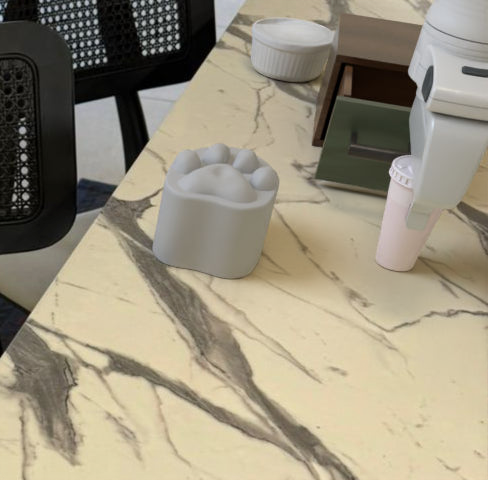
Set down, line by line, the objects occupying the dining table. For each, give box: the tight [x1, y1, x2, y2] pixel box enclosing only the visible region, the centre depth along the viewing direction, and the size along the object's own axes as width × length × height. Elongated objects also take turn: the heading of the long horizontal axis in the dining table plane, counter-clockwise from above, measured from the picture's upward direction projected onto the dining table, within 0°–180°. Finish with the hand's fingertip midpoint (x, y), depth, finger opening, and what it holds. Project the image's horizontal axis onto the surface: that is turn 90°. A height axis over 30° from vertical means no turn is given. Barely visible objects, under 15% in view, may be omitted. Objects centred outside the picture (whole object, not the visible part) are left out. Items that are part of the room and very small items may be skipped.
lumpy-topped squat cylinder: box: [152, 142, 280, 280], centre depth 99 cm, size 10×13×9 cm
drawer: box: [314, 63, 418, 193], centre depth 112 cm, size 19×11×9 cm, turn 165°
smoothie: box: [374, 155, 444, 272], centre depth 96 cm, size 6×6×14 cm
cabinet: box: [311, 12, 423, 148], centre depth 122 cm, size 16×13×11 cm
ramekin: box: [250, 16, 335, 83], centre depth 137 cm, size 11×11×5 cm
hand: (412, 209), depth 97 cm, fingers closed on smoothie, 6 cm apart
